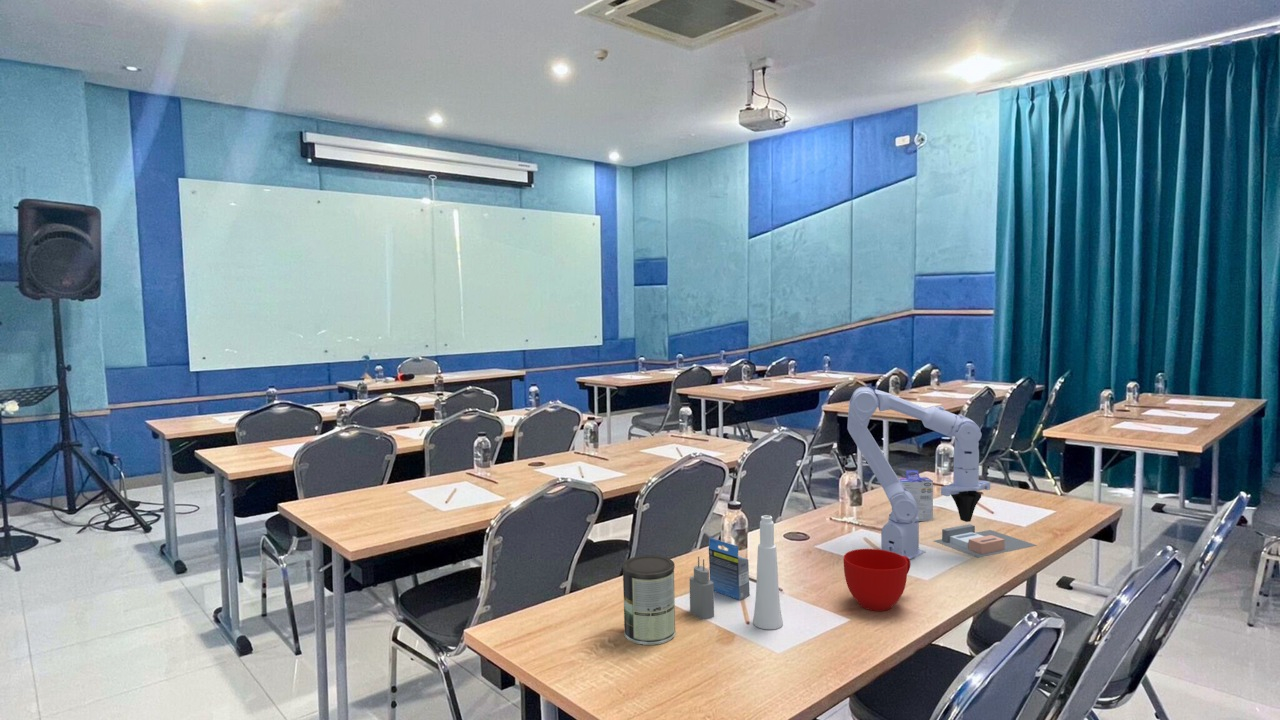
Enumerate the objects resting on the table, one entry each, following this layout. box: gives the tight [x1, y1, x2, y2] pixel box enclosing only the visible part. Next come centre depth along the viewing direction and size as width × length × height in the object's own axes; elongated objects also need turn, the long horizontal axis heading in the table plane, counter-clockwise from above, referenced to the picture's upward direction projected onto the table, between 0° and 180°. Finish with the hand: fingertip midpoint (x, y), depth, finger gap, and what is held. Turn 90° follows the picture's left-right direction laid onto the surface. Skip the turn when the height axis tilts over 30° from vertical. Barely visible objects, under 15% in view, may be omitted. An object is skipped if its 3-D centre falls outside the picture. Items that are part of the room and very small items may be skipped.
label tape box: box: [708, 536, 751, 601], centre depth 157 cm, size 9×4×12 cm, turn 43°
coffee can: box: [621, 554, 676, 646], centre depth 138 cm, size 10×10×14 cm
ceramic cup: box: [843, 548, 911, 612], centre depth 151 cm, size 13×17×10 cm
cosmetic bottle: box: [752, 514, 784, 630], centre depth 141 cm, size 6×6×22 cm
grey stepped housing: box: [941, 524, 984, 549], centre depth 186 cm, size 10×8×3 cm
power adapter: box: [689, 556, 715, 621], centre depth 147 cm, size 3×5×12 cm, turn 30°
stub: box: [969, 535, 1005, 554], centre depth 181 cm, size 8×4×3 cm, turn 113°
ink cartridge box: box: [898, 469, 934, 522], centre depth 208 cm, size 10×6×14 cm, turn 89°
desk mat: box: [933, 529, 1038, 559], centre depth 186 cm, size 21×14×1 cm
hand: (965, 520), depth 176 cm, fingers closed
